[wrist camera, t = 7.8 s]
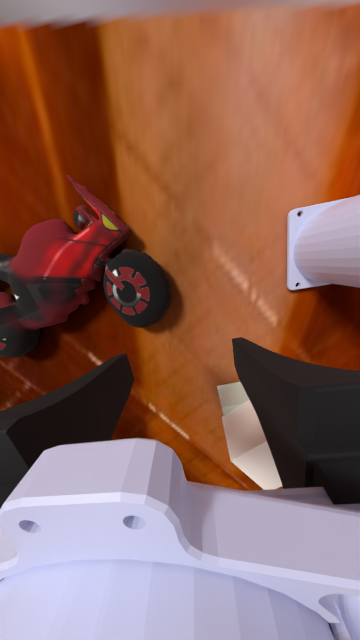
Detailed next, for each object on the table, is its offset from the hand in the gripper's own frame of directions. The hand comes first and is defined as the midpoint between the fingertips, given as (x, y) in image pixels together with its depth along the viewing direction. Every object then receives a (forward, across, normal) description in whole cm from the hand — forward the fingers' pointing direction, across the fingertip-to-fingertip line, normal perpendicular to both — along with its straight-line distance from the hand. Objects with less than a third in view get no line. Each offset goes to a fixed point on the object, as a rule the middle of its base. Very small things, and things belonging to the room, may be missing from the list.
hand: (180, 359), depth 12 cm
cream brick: (+7, -6, +14) cm, 17 cm away
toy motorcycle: (+11, +14, -7) cm, 19 cm away
